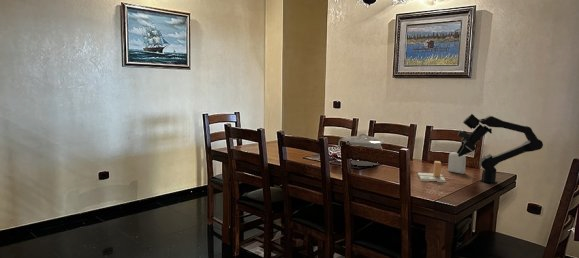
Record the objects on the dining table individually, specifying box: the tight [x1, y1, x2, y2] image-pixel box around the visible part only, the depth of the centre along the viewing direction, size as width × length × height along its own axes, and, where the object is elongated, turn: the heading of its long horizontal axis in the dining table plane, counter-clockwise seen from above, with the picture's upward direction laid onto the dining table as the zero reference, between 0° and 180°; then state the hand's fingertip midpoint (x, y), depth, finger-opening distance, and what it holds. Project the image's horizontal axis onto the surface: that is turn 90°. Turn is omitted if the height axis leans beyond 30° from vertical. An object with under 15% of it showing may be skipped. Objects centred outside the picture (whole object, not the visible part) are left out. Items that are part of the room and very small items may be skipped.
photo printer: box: [447, 151, 467, 175], centre depth 246 cm, size 10×4×12 cm, turn 39°
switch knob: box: [432, 160, 442, 177], centre depth 228 cm, size 3×4×9 cm, turn 170°
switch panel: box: [417, 172, 446, 183], centre depth 230 cm, size 13×14×2 cm
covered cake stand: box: [338, 133, 386, 167], centre depth 261 cm, size 28×28×21 cm
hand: (457, 154), depth 228 cm, fingers open, 9 cm apart
